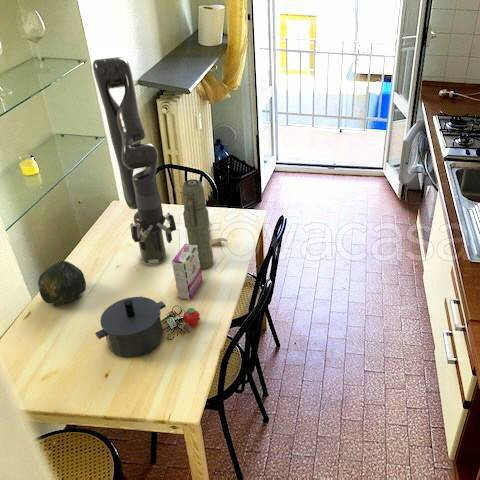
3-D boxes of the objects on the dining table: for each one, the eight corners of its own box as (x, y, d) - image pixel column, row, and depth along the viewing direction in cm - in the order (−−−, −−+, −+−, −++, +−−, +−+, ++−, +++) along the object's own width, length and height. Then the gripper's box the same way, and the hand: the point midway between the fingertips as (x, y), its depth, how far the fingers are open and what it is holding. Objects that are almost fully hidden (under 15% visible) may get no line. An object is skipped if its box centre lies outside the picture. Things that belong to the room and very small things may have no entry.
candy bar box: (190, 279, 189) (185, 242, 180) (202, 281, 188) (198, 244, 179) (177, 298, 180) (171, 260, 171) (190, 300, 179) (185, 262, 170)
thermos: (188, 273, 192) (176, 190, 173) (191, 255, 202) (181, 175, 183) (212, 272, 193) (203, 189, 174) (214, 254, 203) (206, 174, 184)
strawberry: (182, 323, 169) (180, 310, 166) (195, 316, 172) (193, 303, 169) (190, 331, 166) (188, 317, 163) (203, 324, 169) (201, 310, 166)
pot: (91, 341, 161) (84, 319, 156) (154, 310, 174) (150, 288, 169) (115, 371, 152) (108, 348, 146) (180, 336, 164) (176, 313, 159)
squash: (22, 292, 172) (40, 269, 165) (51, 268, 185) (69, 246, 177) (56, 319, 175) (75, 298, 168) (83, 294, 188) (101, 273, 180)
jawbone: (208, 252, 205) (207, 247, 204) (189, 229, 220) (188, 225, 219) (228, 244, 209) (227, 239, 208) (208, 222, 224) (207, 218, 222)
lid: (91, 316, 158) (86, 301, 155) (143, 292, 168) (140, 277, 165) (117, 346, 148) (113, 331, 144) (171, 319, 158) (168, 303, 155)
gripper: (165, 193, 171) (172, 235, 180) (123, 205, 164) (132, 247, 173) (174, 202, 166) (181, 244, 175) (130, 214, 159) (140, 257, 168)
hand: (156, 245), depth 174 cm, fingers open, 8 cm apart
